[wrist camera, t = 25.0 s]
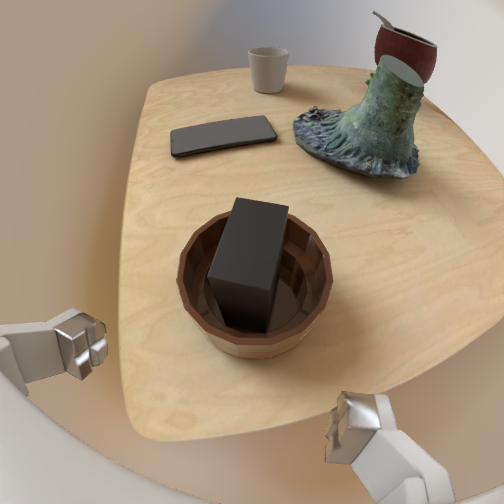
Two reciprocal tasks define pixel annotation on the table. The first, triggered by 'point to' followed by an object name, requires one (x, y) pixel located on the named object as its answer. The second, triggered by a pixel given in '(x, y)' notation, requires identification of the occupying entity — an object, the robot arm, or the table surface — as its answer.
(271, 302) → the case
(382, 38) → the mate gourd
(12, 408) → the robot arm
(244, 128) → the smartphone
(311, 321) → the bowl
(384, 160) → the tree stump
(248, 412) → the table surface
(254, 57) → the cup
